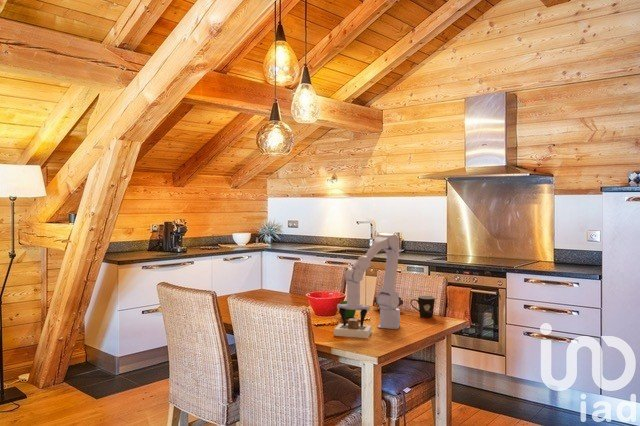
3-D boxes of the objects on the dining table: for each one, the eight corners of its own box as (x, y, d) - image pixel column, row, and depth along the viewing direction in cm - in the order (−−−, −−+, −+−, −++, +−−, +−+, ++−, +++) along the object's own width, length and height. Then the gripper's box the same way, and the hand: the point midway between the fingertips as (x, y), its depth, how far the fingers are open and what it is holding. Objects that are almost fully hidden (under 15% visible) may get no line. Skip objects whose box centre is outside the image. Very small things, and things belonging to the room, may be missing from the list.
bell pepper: (337, 318, 265) (337, 298, 264) (342, 314, 272) (342, 295, 272) (353, 319, 262) (353, 299, 261) (358, 316, 269) (358, 296, 269)
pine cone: (406, 310, 283) (406, 291, 283) (398, 313, 275) (398, 294, 274) (376, 306, 293) (376, 288, 292) (368, 309, 284) (368, 291, 284)
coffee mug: (437, 316, 270) (437, 296, 269) (431, 319, 263) (431, 299, 262) (416, 313, 276) (416, 294, 276) (409, 316, 269) (409, 297, 268)
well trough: (371, 332, 238) (371, 325, 238) (367, 338, 229) (367, 331, 229) (339, 329, 242) (339, 323, 242) (334, 335, 233) (334, 328, 233)
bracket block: (358, 332, 237) (358, 318, 237) (356, 334, 233) (356, 321, 233) (349, 331, 238) (349, 318, 238) (348, 333, 234) (348, 320, 234)
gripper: (335, 296, 233) (335, 326, 234) (367, 298, 229) (367, 329, 230) (339, 293, 240) (339, 322, 240) (370, 295, 236) (370, 325, 237)
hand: (353, 325), depth 236 cm, fingers open, 7 cm apart
